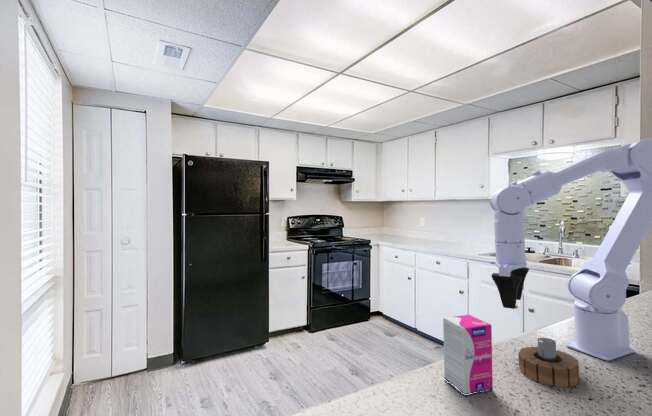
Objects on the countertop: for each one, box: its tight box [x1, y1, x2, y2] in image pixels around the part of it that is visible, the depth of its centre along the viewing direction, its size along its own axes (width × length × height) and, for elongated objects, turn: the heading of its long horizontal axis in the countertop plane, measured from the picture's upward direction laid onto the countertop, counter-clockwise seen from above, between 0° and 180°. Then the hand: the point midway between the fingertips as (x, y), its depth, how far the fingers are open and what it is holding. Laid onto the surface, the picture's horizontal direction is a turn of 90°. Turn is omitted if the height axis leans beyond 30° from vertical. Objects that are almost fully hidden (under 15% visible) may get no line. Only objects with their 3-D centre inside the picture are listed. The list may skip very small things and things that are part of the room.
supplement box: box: [442, 314, 494, 394], centre depth 57 cm, size 6×6×12 cm
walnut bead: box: [518, 346, 580, 388], centre depth 60 cm, size 9×9×3 cm
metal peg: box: [536, 337, 557, 363], centre depth 60 cm, size 3×3×6 cm
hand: (512, 303), depth 72 cm, fingers open, 7 cm apart
